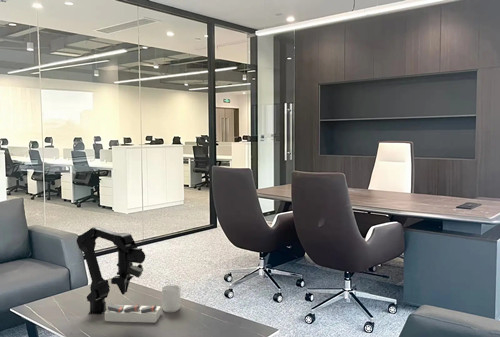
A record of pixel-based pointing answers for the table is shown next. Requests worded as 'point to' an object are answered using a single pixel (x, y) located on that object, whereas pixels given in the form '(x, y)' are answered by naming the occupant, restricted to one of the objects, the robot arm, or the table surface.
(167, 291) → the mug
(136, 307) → the rocker
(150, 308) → the rocker
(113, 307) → the rocker
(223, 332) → the table surface
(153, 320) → the power strip
